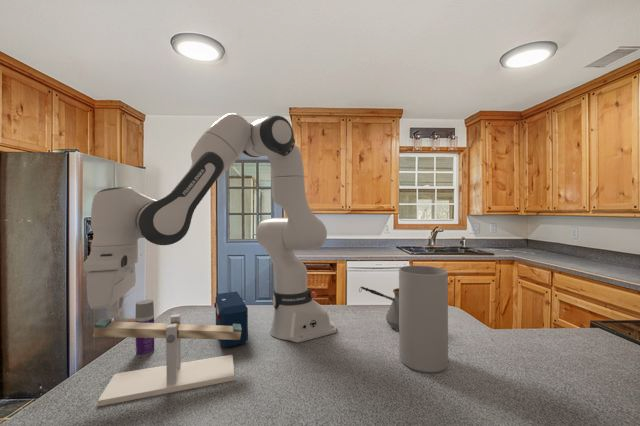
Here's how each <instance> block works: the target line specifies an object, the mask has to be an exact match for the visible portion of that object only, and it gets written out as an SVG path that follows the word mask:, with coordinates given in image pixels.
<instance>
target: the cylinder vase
mask: <svg viewBox="0 0 640 426" xmlns="http://www.w3.org/2000/svg"><path fill="white" fill-rule="evenodd" d="M448 272H449V271H448V270H446V269H445V268H442V267H441V268H440V267H438V266H428V265H404V266H400V267H399V268H398V288H399V330H398V333H399V338H398V341H399V342H398V343H399V344H398V345H399V347H398V350H399V351H398V352H399V354H398V355H399V359H400V361H401V363H403V364H404V365H405V366H406V367H408V368H410V369H412V370H413V371H417V372H421V373H427V374H432V373H439V372H442V371H444V370H445V369H447V368H448V366H449V278H448V277H449V273H448Z"/></svg>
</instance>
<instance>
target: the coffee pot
mask: <svg viewBox="0 0 640 426" xmlns="http://www.w3.org/2000/svg"><path fill="white" fill-rule="evenodd" d="M358 289H359V290H358V292H359V293H361V292H362V290H364V291H366V292H369V293H371V294H373V295H376V296H379V297H382V298H386V299H388V300H390V301H391V304H390V306H389V309H388V311H387V313H386V316H385V320H386V322H387V324H388V325H389V326H390V328H392V329H393V330H395V331H399V287H397V288H394V289H393V290H392V292H393V293H394V297H392V296H388V295H387V294H386V295H385V294H384V293H382V292H379V291H376V290H374V289H371V288H368V287H364V286H360V287H359V288H358Z"/></svg>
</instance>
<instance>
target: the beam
mask: <svg viewBox="0 0 640 426" xmlns="http://www.w3.org/2000/svg"><path fill="white" fill-rule="evenodd" d="M112 319H113V318H101V319H100V320H98V321H97V322H96V324H95V325H94V326H93V327H94V329H93V334H92V337H94V338H95V337H97V338H99V337H100V338H135V339H136V338H154V339H166V327H167V325H168V324H169V323H165V322H163V323H161V322H160V323H159V322H158V323H157V322H154V323H139V322H135V321H134V322H133V321H130V322H129V321H112ZM170 324H177V338H181V340H182V339H184V340H186V339H188V340H189V339H191V340H193V339H194V340H219V339H228V340H240V336H241V330H242V329H241V324H233V326H221V325H216V324H194V323H193V324H190V323H181V322H180V323H178V322H173V323H171V322H170Z"/></svg>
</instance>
